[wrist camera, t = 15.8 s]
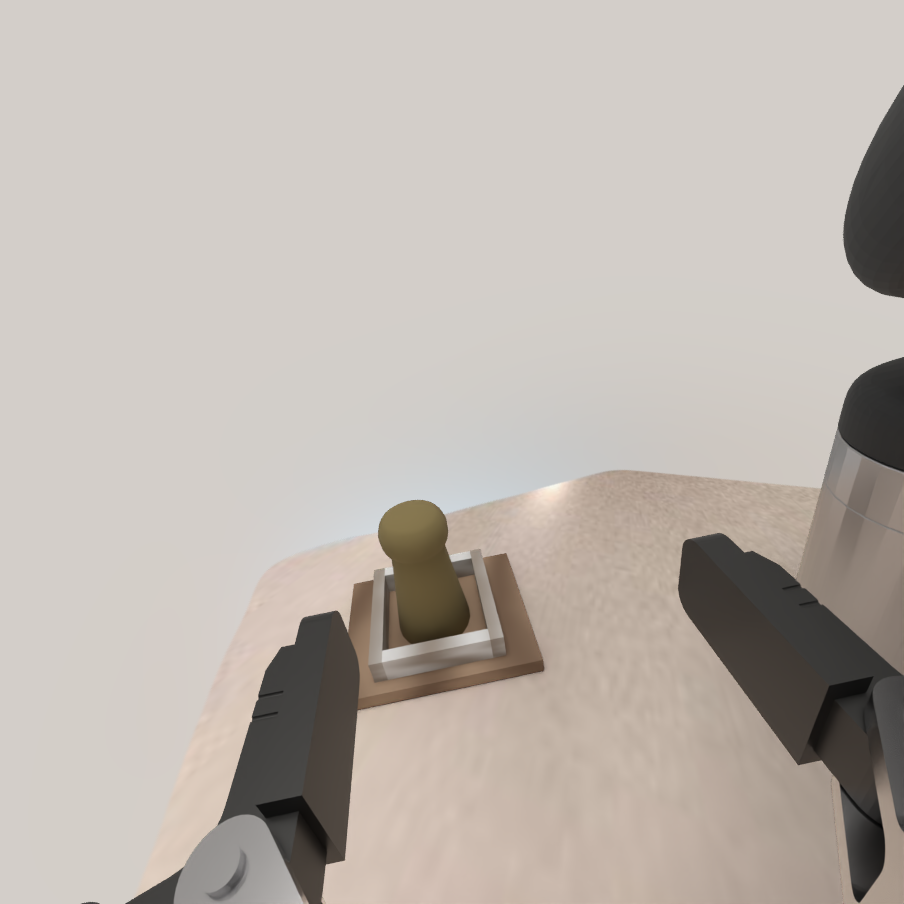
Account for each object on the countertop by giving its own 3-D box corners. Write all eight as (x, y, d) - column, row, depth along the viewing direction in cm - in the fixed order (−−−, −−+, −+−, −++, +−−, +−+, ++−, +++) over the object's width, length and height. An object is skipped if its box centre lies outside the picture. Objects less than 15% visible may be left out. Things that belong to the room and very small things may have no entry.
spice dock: (507, 562, 43) (504, 537, 42) (543, 670, 33) (541, 641, 31) (357, 593, 43) (348, 568, 41) (344, 712, 32) (332, 685, 31)
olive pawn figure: (433, 581, 41) (409, 481, 36) (484, 608, 37) (466, 501, 32) (385, 626, 37) (350, 522, 32) (437, 661, 33) (407, 549, 28)
